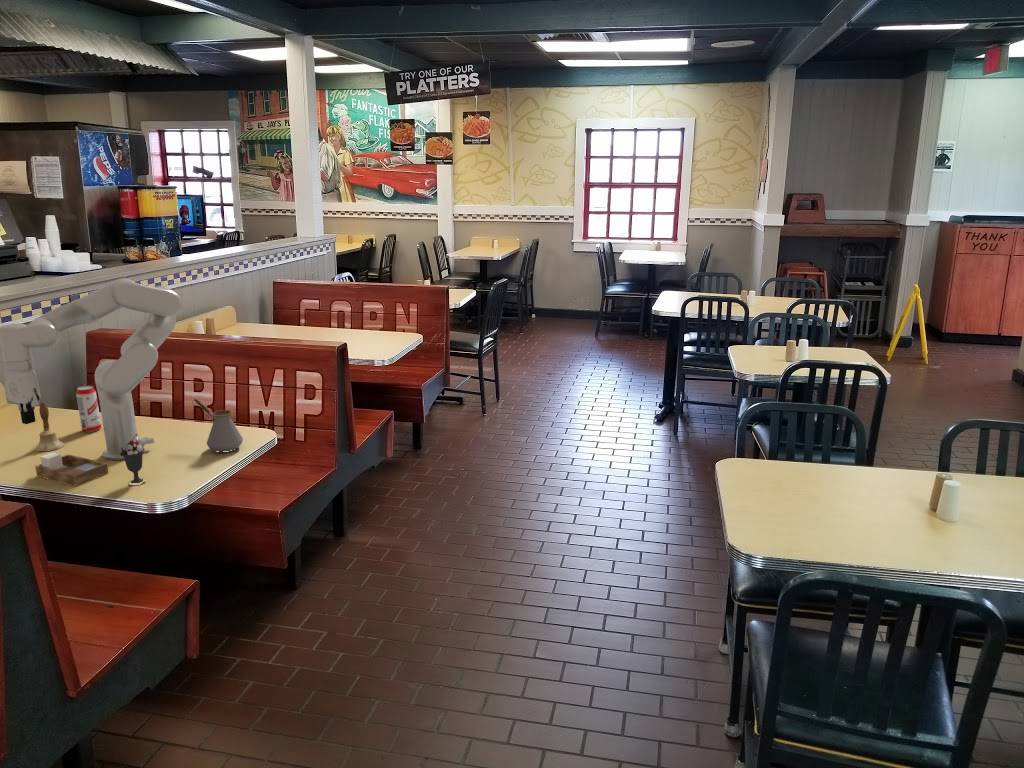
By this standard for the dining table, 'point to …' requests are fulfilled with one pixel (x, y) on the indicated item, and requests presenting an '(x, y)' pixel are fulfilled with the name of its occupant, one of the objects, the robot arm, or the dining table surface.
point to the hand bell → (47, 433)
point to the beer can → (88, 408)
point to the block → (52, 461)
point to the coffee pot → (222, 431)
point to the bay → (86, 467)
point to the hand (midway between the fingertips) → (29, 422)
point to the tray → (73, 470)
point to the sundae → (133, 458)
